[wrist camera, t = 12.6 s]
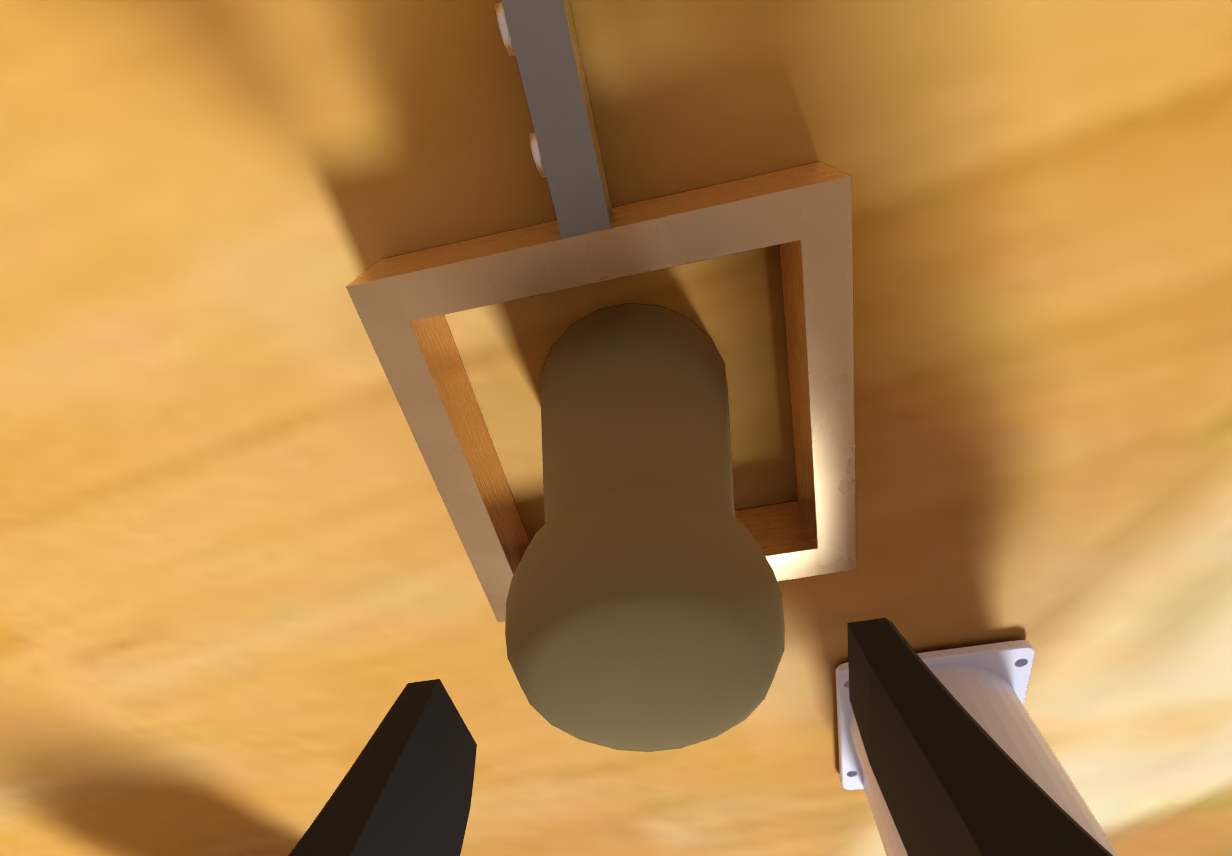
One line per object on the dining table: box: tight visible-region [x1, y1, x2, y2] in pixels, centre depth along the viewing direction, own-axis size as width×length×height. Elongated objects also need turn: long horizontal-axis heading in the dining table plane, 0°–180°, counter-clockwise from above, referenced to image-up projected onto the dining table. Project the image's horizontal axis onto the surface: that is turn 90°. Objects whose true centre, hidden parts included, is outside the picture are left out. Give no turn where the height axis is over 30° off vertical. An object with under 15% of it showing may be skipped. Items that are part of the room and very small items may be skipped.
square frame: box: [346, 0, 856, 622], centre depth 18 cm, size 24×12×2 cm, turn 12°
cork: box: [505, 303, 784, 752], centre depth 15 cm, size 6×6×11 cm
